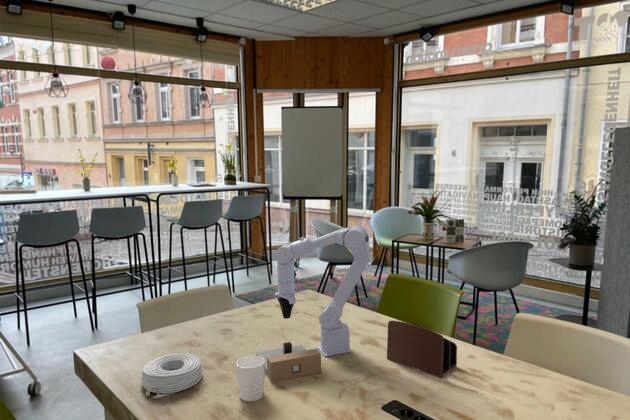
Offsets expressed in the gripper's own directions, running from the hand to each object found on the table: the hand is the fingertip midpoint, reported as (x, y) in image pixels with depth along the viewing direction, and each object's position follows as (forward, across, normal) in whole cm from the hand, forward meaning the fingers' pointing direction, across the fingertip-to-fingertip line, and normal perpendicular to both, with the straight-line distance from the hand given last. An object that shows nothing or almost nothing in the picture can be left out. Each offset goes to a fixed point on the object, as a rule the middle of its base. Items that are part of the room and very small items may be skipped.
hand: (286, 317), depth 157 cm
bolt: (+9, +17, -4) cm, 19 cm away
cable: (+11, +10, -39) cm, 42 cm away
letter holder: (+11, +28, +36) cm, 47 cm away
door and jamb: (+10, +13, -4) cm, 17 cm away
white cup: (+11, +27, -19) cm, 35 cm away
